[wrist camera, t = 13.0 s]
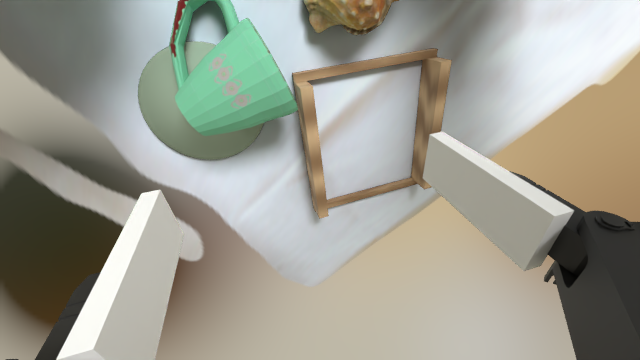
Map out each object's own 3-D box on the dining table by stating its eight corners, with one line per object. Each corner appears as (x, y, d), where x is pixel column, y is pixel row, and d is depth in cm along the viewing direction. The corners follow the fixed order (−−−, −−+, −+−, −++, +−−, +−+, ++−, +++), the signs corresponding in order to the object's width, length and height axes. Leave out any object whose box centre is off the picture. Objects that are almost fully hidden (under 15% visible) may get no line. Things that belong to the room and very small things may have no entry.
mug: (229, 153, 33) (298, 112, 33) (203, 161, 24) (299, 104, 24) (157, 43, 30) (232, -2, 30) (94, 1, 21) (203, -64, 21)
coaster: (113, 52, 27) (111, 52, 27) (249, 32, 30) (250, 32, 29) (170, 168, 35) (170, 170, 34) (275, 144, 37) (275, 146, 37)
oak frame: (292, 73, 33) (298, 79, 30) (433, 48, 36) (452, 51, 33) (313, 208, 45) (320, 223, 42) (417, 180, 49) (431, 191, 45)
